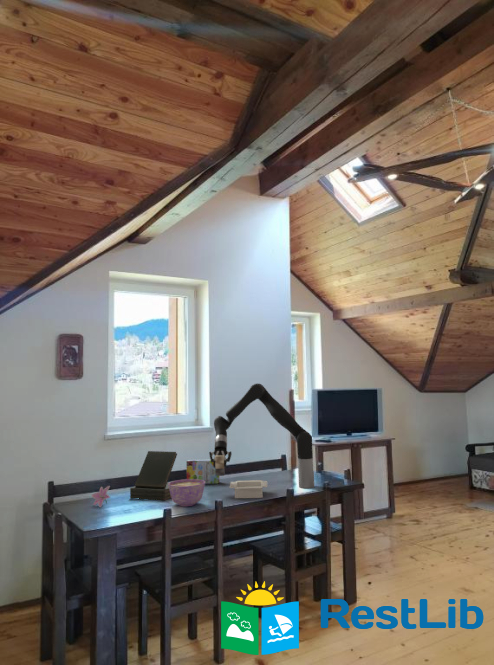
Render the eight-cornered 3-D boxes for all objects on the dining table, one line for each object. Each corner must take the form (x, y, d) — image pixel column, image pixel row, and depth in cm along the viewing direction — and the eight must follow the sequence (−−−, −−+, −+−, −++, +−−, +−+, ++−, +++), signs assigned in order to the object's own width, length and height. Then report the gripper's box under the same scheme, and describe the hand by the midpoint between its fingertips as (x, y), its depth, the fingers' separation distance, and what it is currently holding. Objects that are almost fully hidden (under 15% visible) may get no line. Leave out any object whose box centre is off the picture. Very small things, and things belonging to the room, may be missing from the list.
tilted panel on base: (130, 499, 274) (130, 454, 277) (148, 491, 293) (148, 450, 296) (164, 501, 266) (164, 455, 269) (181, 493, 285) (181, 451, 287)
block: (224, 473, 285) (224, 455, 286) (224, 475, 280) (223, 456, 282) (216, 473, 285) (215, 455, 287) (215, 475, 280) (215, 456, 282)
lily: (91, 505, 266) (86, 491, 262) (111, 494, 271) (106, 480, 268) (98, 516, 256) (92, 502, 253) (118, 504, 262) (113, 490, 258)
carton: (267, 490, 286) (267, 480, 286) (268, 498, 264) (267, 487, 265) (231, 491, 286) (231, 481, 287) (229, 499, 265) (229, 488, 265)
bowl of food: (160, 505, 255) (160, 483, 256) (188, 498, 270) (188, 477, 271) (185, 511, 242) (185, 488, 243) (213, 503, 257) (213, 481, 258)
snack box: (219, 482, 315) (219, 458, 317) (218, 483, 310) (217, 460, 311) (188, 482, 317) (187, 459, 319) (186, 484, 312) (186, 460, 313)
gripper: (208, 440, 293) (207, 463, 279) (232, 439, 292) (231, 463, 279) (209, 447, 297) (208, 471, 284) (232, 447, 297) (232, 470, 284)
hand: (219, 467), depth 282 cm, fingers closed on block, 5 cm apart
